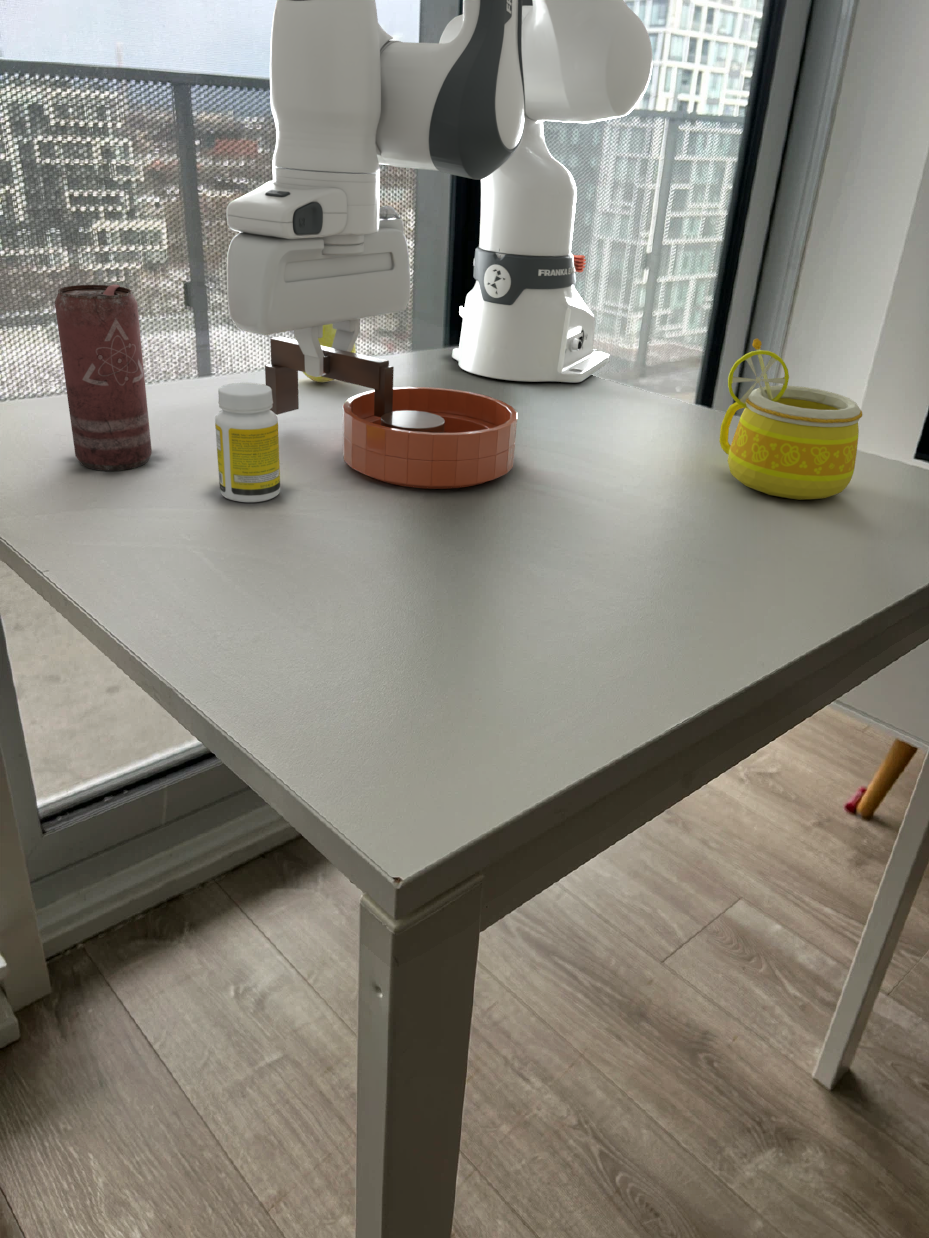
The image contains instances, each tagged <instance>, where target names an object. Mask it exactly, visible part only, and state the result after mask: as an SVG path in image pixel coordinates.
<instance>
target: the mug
mask: <svg viewBox="0 0 929 1238" xmlns="http://www.w3.org/2000/svg"><path fill="white" fill-rule="evenodd" d="M762 346H763V344H762V341H761V340H760V339H759V338H755V339H753V341H752V348H754V351H753V350H752V351H749V352H747V353H745V354H743V355H742V356H741V357H740V358H738V359H737V360H736V361H735V362H734V364H733V366H732V367H731V368H730V369H729V373H728V377H727V387H728V392H729V394H730V396H731V398H732V399H733V400H734V401H735V402H734V403H732V404H730V405H729V406H728V408H727V409H726V411H725V413H724V417H723V419H722V421H721V425H720V429H719V440H718V441H719V442H718V443H719V445H720V448H721V450H723V452H724V453H725V454H726V455H727V456H728V457H727V464H728V469H729V471H730V474H731V476H733V477H734V478H735V479H736V480H737V481H738V482H739V483H741V484H742V485H744V486H745V487H747V488H750V489H752V490H754V491H757V492H761V493H763V494H766V495H768V496H774V497H779V498H785V499H791V500H800V501H801V500H819V499H827V498H830V497H833V496H836V495H838V494H840V493H842V492H843V491H845V489H846V488H847V487H848V485H849V484H850V483H851V481H852V478H853V475H854V472H855V467H856V461H857V454H858V446H859V445H858V444H859V436H860V435H859V434H860V432H859V431H860V429H859V421H860V419H861V418H862V417H863V411H862V410H861V408H860V406H859V404H857V402H856V401H854V400H852V399H851V398H850V397H847V396H845V395H842V394H839V393H837V392H833V391H828V390H825V389H819V388H814V387H806V386H799V385H797V386H796V385H788V384H789V380H790V374H789V369H788V367H787V365H786V363H785V361H784V360H783V358H782V357H781V356H780V355H778V354H777V353H775V352H772V351H770V350H763V349H762ZM763 355H765V356H769V357H770V359H769V360H768V362H767V364H766V366H765V362H764V358H763ZM754 356H757V358H758V361H759V366H760V369H761V372H760V375H759V376H758V375H757V372H756V368H755V366H754V365H755V364H754V363H753V362H754V361H753V359H752V357H754ZM744 361H746V362H747V364H748V366H749V367H750V369H751V371H752V373H753V375H754V376H755V378H747V377H740V376H734V374H735V371H736V370H737V368H738V366H740V365H741V363H742V362H744ZM776 362H779V363H780V365H781V366H782V368H783V372H784V373H783V374H784V376H783V377H774V378H768V374H767V372H768V371H769V370H770V369H771V368H772V367H773V365H774V364H775V363H776ZM749 382H754V383H753V384H752V385H751V386H750V388H749V389H748V390H747V391H746V392H745V393H744V394H743V396H742V397H741V398H738V397H737V396H736V394H735V393H734V389H733V383H749ZM761 382H764V385H765V386H762V384H761ZM770 383H773V384H777V385H770ZM778 384H780V385H778ZM757 385H759V387H758V388H755V387H756V386H757ZM740 409H743V411H742V413H741V415H740V417H739V420H738V423H737V426H736V429H735V431H734V435H733V438H732V440H731V444H730V443H729V435H730V434H729V433H730V426H731V424H732V420H733V417H735V414H736V413H737V411H739V410H740Z"/></svg>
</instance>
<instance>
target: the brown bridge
mask: <svg viewBox="0 0 929 1238" xmlns="http://www.w3.org/2000/svg"><path fill="white" fill-rule="evenodd" d="M320 346H321V345H320ZM321 348H322V351H323V354H325V355H330V365H329V366H330V373H329V374H327V375H323V376H322V377H326V378H330V379H335V381H338V382H344V383H347V384H351V385H354V386H355V385H356V386H360V387H364V388H368V389H371V390H374V416H377V417H381V426H385V427H389V428H395V429H401V430H407V431H417V432H429V433H444V427H445V420H444V419H443V418H442V417H440V416H438V415H436V414H432V413H428V412H422V411H394V412H392V411H393V388H394V371H395V367H394V366H393V365H390V361H389V360H388V359H384V358H379V357H375V356H370V355H365V354H361V353H357V352H356V353H352V352H348V351H343V350H339V349H334V348H330V347H325V346H321ZM299 372H301V373H303V372H305V355H304V354H303V352H302V350H301V348H300V346H299V344H298V342H297V340H296V339H293V338H289V337H284V336H276V337H272V338H270V364H266V365H264V377H265V378H264V379H265V385H267V386H269V387H270V388H271V390H272V400H273V404H272V405H273V406H272V408H271V409H270V410H271V411H272V412H274V413H275V414H276V416H278V415H281V414H286V413H289V412H292V411H298V410H299V409H300V405H299V403H300V401H299V400H300V399H299Z"/></svg>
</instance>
